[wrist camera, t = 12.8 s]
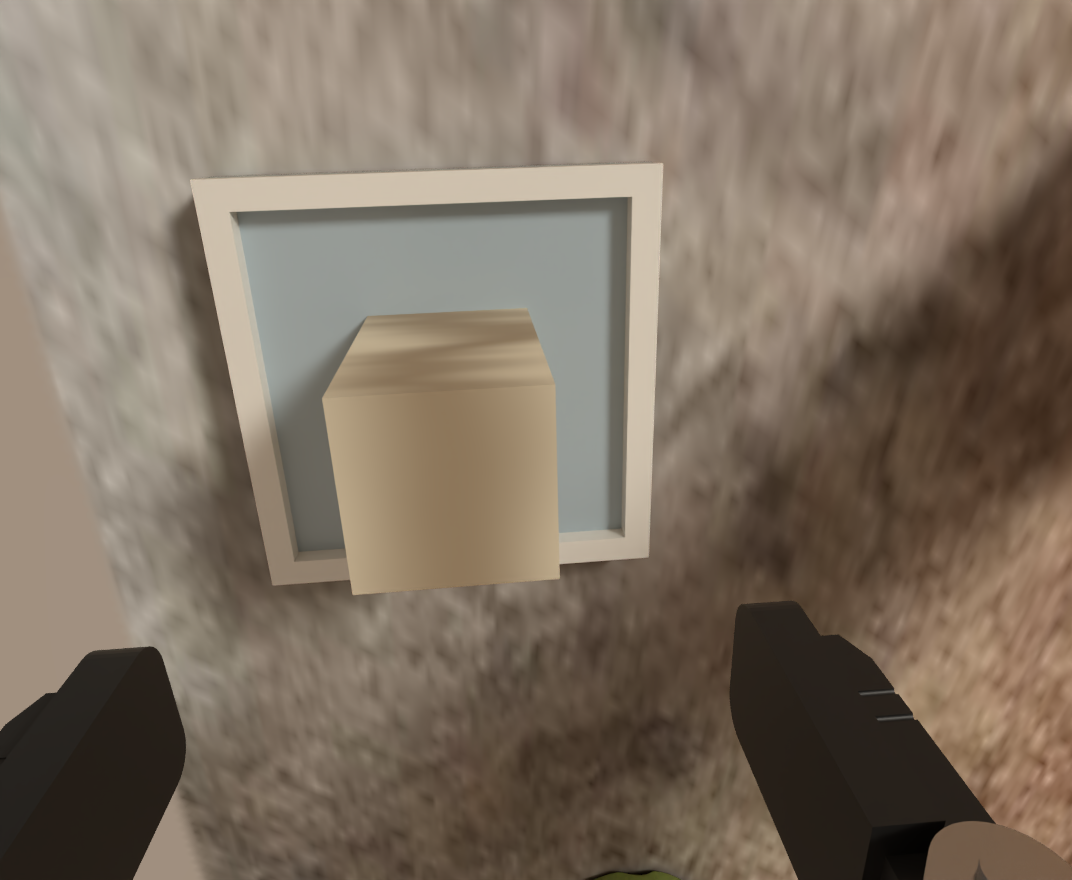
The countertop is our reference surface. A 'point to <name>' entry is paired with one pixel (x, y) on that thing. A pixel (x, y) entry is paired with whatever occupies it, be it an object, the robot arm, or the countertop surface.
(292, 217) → the square picture frame
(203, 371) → the countertop surface
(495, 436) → the birch block
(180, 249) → the countertop surface
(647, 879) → the plant pot
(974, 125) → the countertop surface
